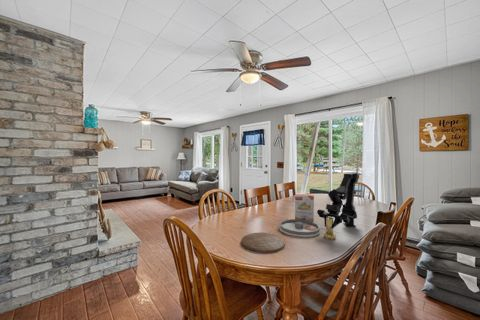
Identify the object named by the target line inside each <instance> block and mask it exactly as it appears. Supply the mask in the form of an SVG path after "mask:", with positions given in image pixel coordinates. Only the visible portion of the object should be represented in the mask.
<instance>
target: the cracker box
mask: <svg viewBox="0 0 480 320" xmlns="http://www.w3.org/2000/svg"><path fill="white" fill-rule="evenodd" d="M294 195H295V196H294V199H295V200H294V219H299V220H306V221H310V222H314V221H315V219H314V214H315V211H314V210H315V208H314V207H315V204H314V203H315V196H314V195H313V194H305V193H304V194H302V193H295V194H294ZM314 223H315V222H314Z"/></svg>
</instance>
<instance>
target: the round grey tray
mask: <svg viewBox="0 0 480 320" xmlns="http://www.w3.org/2000/svg"><path fill="white" fill-rule="evenodd" d="M278 228H279V230H280V231H281V233H284V234H286V235H289V236H291V237H292V236H293V237H299V238H301V237H302V238H310V237H316V236H318V235H320V234H321V226H320V225H319V224H317V223H315V222H310V221H306V220H299V219H295V218H292V219H284V220H281V221H280V222H279V226H278Z"/></svg>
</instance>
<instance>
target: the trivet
mask: <svg viewBox="0 0 480 320" xmlns="http://www.w3.org/2000/svg"><path fill="white" fill-rule="evenodd" d="M241 245H242V247H243V248H245V249H246V250H247V251H250V252H251V251H252V252H255V253H261V254H269V253H276V252H279V251H282V250H283V249H284V248H285V247H286V246H285V245H286V242H285V239H284V238H283V237H282V236H279V235H277V234H274V233H270V232H252V233H248V234H245V235H244V236H242V238H241Z"/></svg>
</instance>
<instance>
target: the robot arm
mask: <svg viewBox="0 0 480 320" xmlns="http://www.w3.org/2000/svg"><path fill="white" fill-rule="evenodd" d="M359 179H360V174H359V173H358V172H353V171H351V172H345V173H344V174H343V177H342V180H341V182H340V185H339V187H337V188H335V189H334V188H333V189H332V190H330V191H329V192H328V193H327V195H328V197H329V199H330V201H331V204H330V203H326V206H325V209H326V210H327V211H325V209H324V210H323V209H320V208H319V209H318V210H317V211H316V213H317V215H318V217H319V218H322V219H324V220H323V221H324V227H325V228H326V218H327V217H330V218H333V225H332V229H333V230H334V228H336V226H337V227H338V225H339V224H343V225H344V226H345V227H349V228H350V227H354V228H355V227H357V226H356V225H355V219H358V214H357V211H356V206H355V205H354V198H355V190H356V184H357V183H358V182H359ZM343 200H345V203H343Z"/></svg>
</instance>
